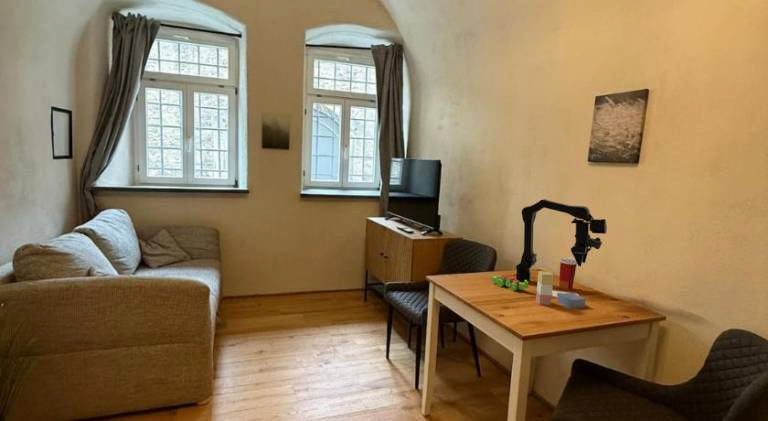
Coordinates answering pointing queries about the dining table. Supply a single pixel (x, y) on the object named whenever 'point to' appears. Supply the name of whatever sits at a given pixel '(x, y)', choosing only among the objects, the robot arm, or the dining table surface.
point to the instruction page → (555, 293)
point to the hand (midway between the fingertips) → (581, 264)
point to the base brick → (571, 300)
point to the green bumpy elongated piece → (510, 282)
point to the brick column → (544, 288)
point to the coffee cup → (567, 273)
